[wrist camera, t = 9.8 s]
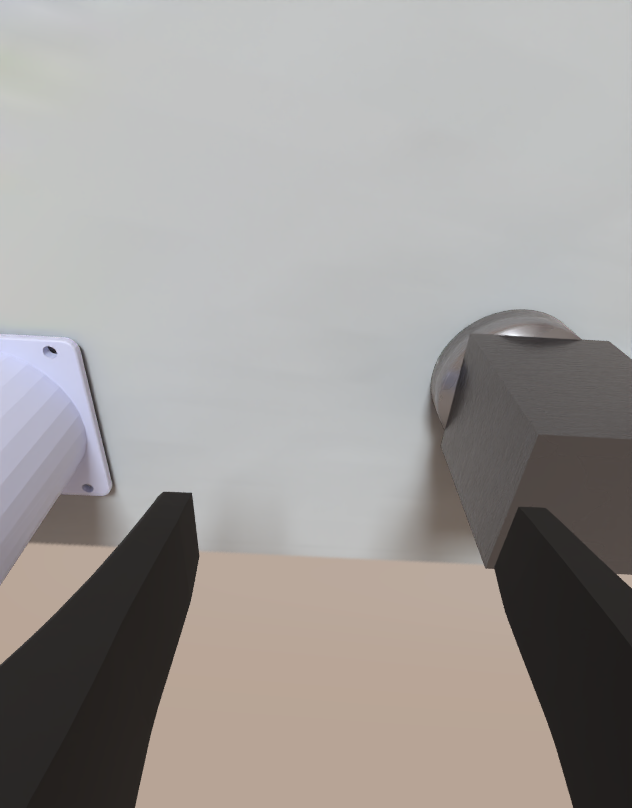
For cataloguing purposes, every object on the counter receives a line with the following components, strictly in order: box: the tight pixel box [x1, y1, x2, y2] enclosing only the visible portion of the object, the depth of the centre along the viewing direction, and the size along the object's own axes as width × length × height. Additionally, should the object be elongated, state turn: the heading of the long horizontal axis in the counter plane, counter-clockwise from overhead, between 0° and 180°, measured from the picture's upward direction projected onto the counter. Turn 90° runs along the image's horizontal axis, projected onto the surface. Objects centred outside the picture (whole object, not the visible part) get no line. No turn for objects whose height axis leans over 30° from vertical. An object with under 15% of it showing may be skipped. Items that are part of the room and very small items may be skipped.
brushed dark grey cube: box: [441, 333, 632, 575], centre depth 15 cm, size 5×5×6 cm
